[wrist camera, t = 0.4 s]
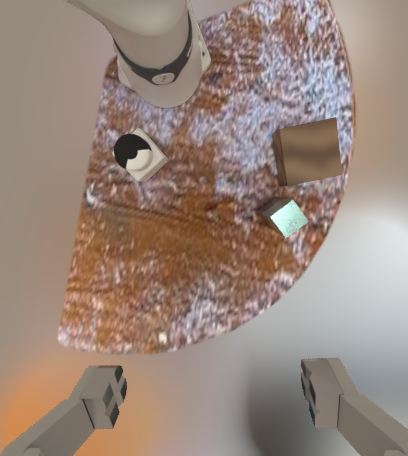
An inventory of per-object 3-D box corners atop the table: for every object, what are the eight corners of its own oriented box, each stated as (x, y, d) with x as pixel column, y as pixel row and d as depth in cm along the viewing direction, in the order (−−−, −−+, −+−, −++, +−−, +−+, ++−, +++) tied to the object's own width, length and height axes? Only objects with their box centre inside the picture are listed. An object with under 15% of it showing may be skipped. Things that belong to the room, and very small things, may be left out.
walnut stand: (272, 134, 52) (279, 129, 47) (323, 123, 52) (336, 117, 47) (279, 185, 54) (287, 185, 49) (329, 175, 54) (341, 174, 49)
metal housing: (256, 210, 55) (270, 217, 44) (274, 196, 55) (292, 199, 44) (269, 227, 56) (286, 238, 45) (287, 213, 55) (308, 221, 45)
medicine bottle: (122, 157, 53) (100, 149, 41) (146, 134, 52) (130, 119, 40) (145, 182, 54) (129, 182, 42) (169, 160, 53) (160, 153, 41)
